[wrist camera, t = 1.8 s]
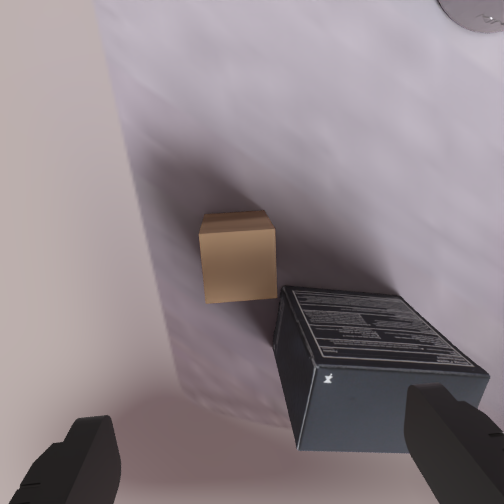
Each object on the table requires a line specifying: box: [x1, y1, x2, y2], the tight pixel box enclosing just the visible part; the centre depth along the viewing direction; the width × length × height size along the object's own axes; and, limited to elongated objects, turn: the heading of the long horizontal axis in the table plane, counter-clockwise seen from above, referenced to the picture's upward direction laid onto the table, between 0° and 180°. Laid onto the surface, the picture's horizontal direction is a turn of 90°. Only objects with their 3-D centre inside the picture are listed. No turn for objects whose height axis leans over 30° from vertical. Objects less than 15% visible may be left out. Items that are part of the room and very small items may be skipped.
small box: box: [273, 286, 490, 453], centre depth 24 cm, size 11×6×10 cm, turn 83°
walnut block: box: [199, 210, 277, 304], centre depth 24 cm, size 4×4×6 cm
